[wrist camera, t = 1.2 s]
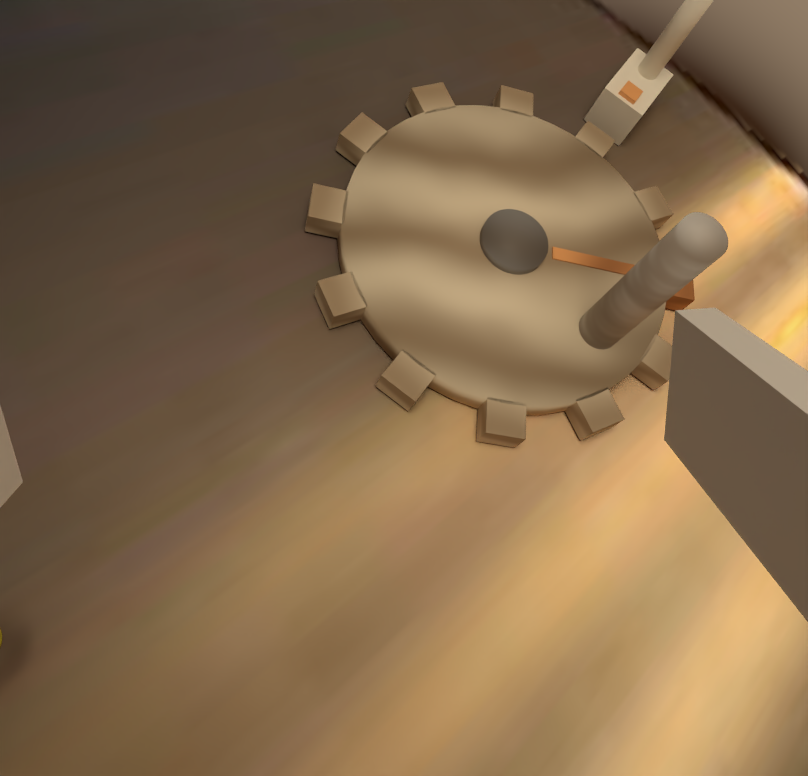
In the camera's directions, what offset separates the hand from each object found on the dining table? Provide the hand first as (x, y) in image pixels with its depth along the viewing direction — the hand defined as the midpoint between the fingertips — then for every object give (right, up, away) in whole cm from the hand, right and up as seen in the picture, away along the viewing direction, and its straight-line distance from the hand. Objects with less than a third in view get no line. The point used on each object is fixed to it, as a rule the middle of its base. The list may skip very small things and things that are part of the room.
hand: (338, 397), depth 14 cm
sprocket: (+7, +8, +30) cm, 32 cm away
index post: (+16, +19, +37) cm, 45 cm away
